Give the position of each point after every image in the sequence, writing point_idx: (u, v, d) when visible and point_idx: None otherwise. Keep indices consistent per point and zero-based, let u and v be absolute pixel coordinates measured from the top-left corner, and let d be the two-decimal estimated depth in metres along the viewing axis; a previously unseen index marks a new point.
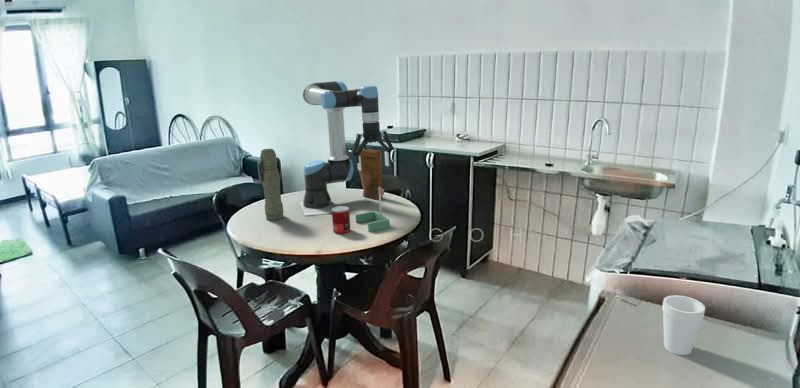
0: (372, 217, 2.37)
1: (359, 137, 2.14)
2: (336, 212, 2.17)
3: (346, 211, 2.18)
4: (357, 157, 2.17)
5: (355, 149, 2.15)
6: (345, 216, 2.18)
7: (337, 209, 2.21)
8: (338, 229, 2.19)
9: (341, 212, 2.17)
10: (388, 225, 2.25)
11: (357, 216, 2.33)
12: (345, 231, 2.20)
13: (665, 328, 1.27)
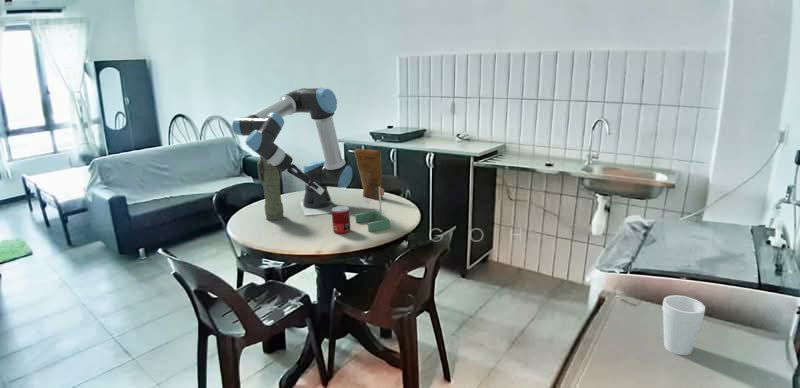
0: (372, 217, 2.37)
1: None
2: (336, 212, 2.17)
3: (346, 211, 2.18)
4: (300, 178, 2.16)
5: None
6: (345, 216, 2.18)
7: (337, 209, 2.21)
8: (338, 228, 2.19)
9: (341, 212, 2.17)
10: (388, 225, 2.25)
11: (357, 216, 2.33)
12: (345, 231, 2.20)
13: (665, 328, 1.27)
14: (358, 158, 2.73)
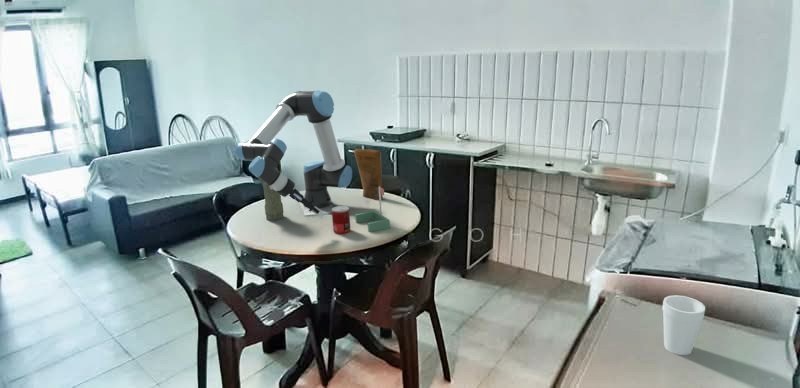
0: (372, 217, 2.37)
1: None
2: (336, 212, 2.17)
3: (346, 211, 2.18)
4: None
5: None
6: (345, 216, 2.18)
7: (337, 209, 2.21)
8: (338, 229, 2.19)
9: (341, 212, 2.17)
10: (388, 225, 2.25)
11: (357, 216, 2.33)
12: (345, 231, 2.20)
13: (665, 328, 1.27)
14: (358, 158, 2.73)
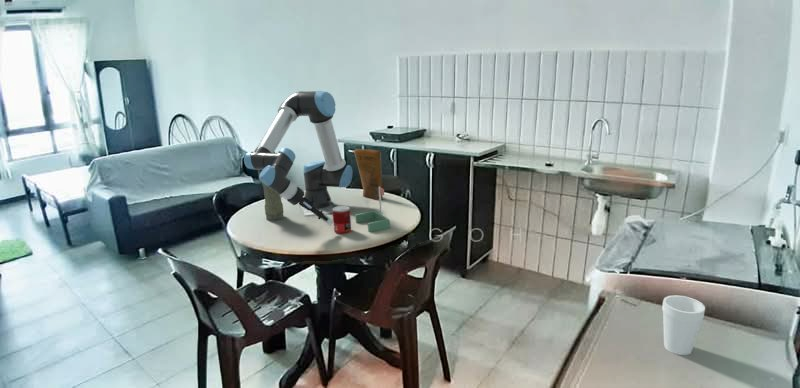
0: (372, 217, 2.37)
1: None
2: (337, 211, 2.17)
3: (347, 211, 2.18)
4: None
5: None
6: (346, 216, 2.19)
7: (338, 209, 2.21)
8: (339, 228, 2.19)
9: (342, 212, 2.17)
10: (388, 225, 2.25)
11: (357, 216, 2.33)
12: (346, 231, 2.20)
13: (665, 328, 1.27)
14: (358, 158, 2.73)
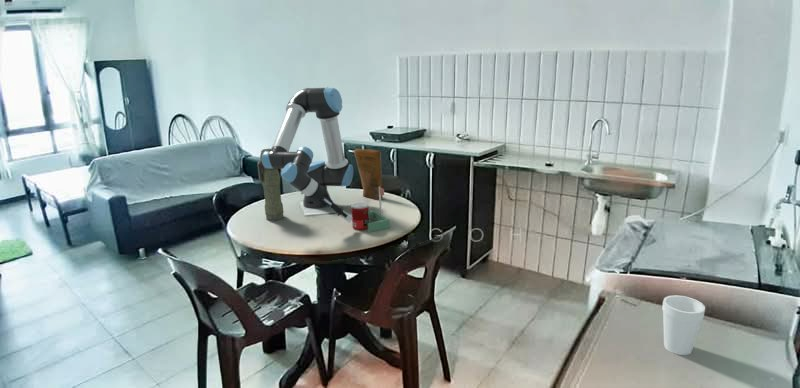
0: (372, 217, 2.37)
1: None
2: (356, 208, 2.21)
3: (366, 208, 2.22)
4: None
5: None
6: (365, 213, 2.22)
7: (356, 206, 2.24)
8: (358, 225, 2.23)
9: (361, 209, 2.21)
10: (388, 225, 2.25)
11: None
12: (365, 227, 2.24)
13: (665, 328, 1.27)
14: (358, 158, 2.73)
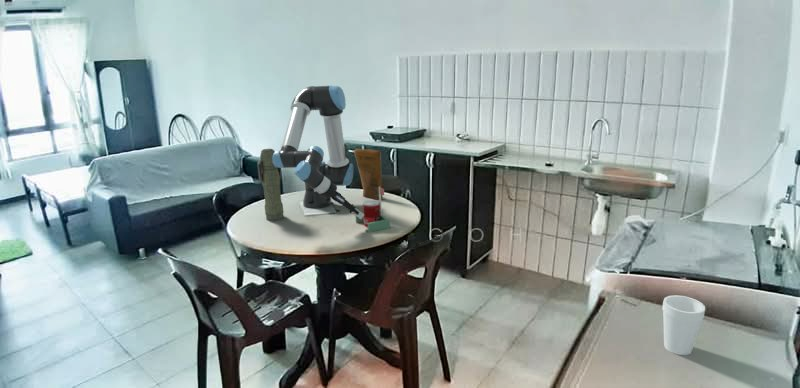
0: None
1: None
2: (368, 205, 2.24)
3: (377, 205, 2.25)
4: None
5: None
6: (376, 210, 2.25)
7: (368, 203, 2.27)
8: (370, 222, 2.26)
9: (372, 206, 2.24)
10: (388, 225, 2.25)
11: None
12: None
13: (665, 328, 1.27)
14: (358, 158, 2.73)
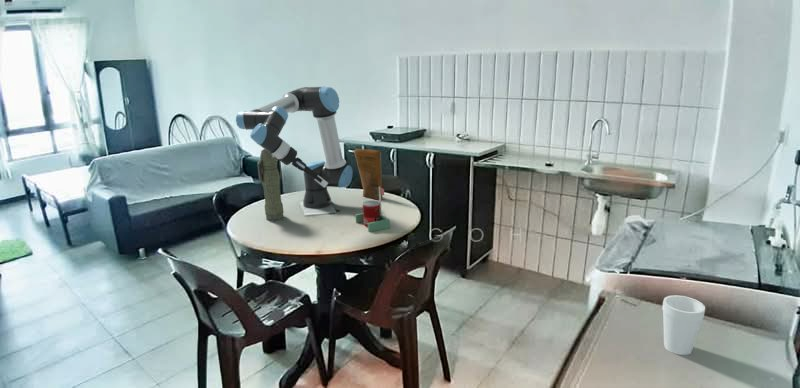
0: None
1: None
2: (368, 206, 2.24)
3: (377, 205, 2.25)
4: None
5: None
6: (376, 210, 2.25)
7: (368, 203, 2.27)
8: (370, 222, 2.26)
9: (372, 206, 2.24)
10: (388, 225, 2.25)
11: (357, 216, 2.33)
12: None
13: (665, 328, 1.27)
14: (358, 158, 2.73)
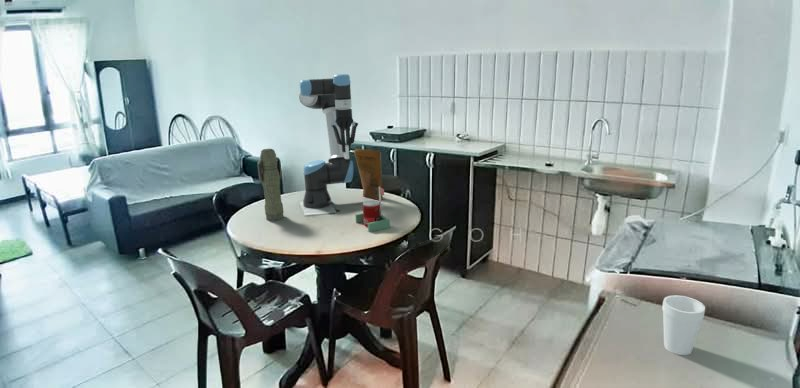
0: None
1: (335, 127, 2.24)
2: (368, 206, 2.24)
3: (377, 205, 2.25)
4: (344, 146, 2.29)
5: (339, 138, 2.26)
6: (376, 210, 2.25)
7: (368, 203, 2.27)
8: (370, 222, 2.26)
9: (372, 206, 2.24)
10: (388, 225, 2.25)
11: (357, 216, 2.33)
12: None
13: (665, 328, 1.27)
14: (358, 158, 2.73)
